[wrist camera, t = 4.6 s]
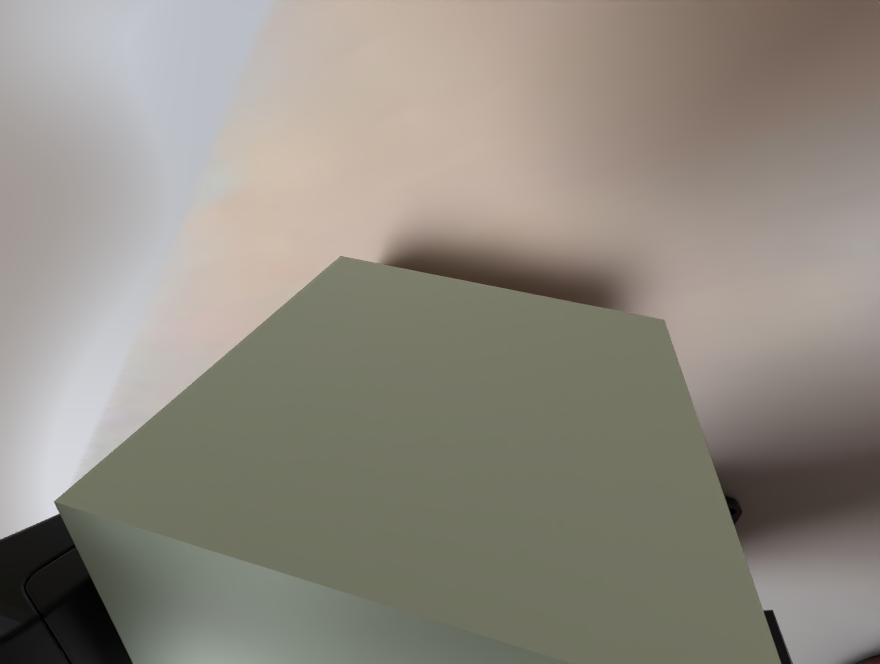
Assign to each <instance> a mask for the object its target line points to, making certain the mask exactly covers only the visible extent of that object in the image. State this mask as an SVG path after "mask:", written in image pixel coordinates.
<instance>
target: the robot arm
mask: <svg viewBox="0 0 880 664" xmlns="http://www.w3.org/2000/svg"><path fill="white" fill-rule="evenodd" d="M724 497H725V496H724ZM725 500H726V503H727V506H728V508H730V509H729V512H730V515H731V518H732V520H733V523H734V525H735V523H736V522H737V520H738V519H739V517H740V516H741V514H742V510H741V507H740V505H739V502H738V501H737V500H735V499H733V498H729V497H725ZM763 612H764V614H765V617H766V620H767V623H768V626H769V629H770V632H771V635H772V638H773V641H774V644H775V647H776V650H777V653H778V656H779V659H780V661H781V664H793V663H792V660H791V657H790V655H789V652H788V649H787V647H786V644H785V641H784V639H783V636H782V633H781V631H780V628H779V626H778V623H777V620H776V618H775V615H774V612H773V610H765V611H763ZM0 664H133V662H132V660H131V658H130V656H129V654H128V652H127V650H126V648H125V646H124V644H123V642H122V640H121V638H120V636H119V634H118V632H117V630H116V628H115V626H114V624H113V621H112V619H111V617H110V615H109V613H108V611H107V609H106V607H105V605H104V603H103V601H102V599H101V597H100V595H99V593H98V591H97V589H96V587H95V585H94V583H93V581H92V578H91V576H90V574H89V572H88V570H87V568H86V566H85V564H84V562H83V560H82V558H81V556H80V554H79V552H78V550H77V548H76V546H75V544H74V542H73V540H72V537H71V535H70V533H69V531H68V529H67V527H66V525H65V523H64V521H63V519H62V517H61V515H60V514H58V515H56V516H53V517H51V518H49V519H46V520H44V521H42V522H40V523H37V524H35V525H33V526H31V527H28V528H26V529H24V530H22V531H20V532H17V533H15V534H12V535H10V536H8V537H5V538H3V539H0Z"/></svg>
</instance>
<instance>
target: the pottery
mask: <svg viewBox="0 0 880 664" xmlns="http://www.w3.org/2000/svg"><path fill="white" fill-rule="evenodd" d="M857 664H880V656H877V657H873V658H869V659H867V660H864V661H862V662H859V663H857Z"/></svg>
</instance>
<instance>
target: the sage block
mask: <svg viewBox="0 0 880 664" xmlns="http://www.w3.org/2000/svg"><path fill="white" fill-rule="evenodd" d="M54 503H55V505H56V507H57V509H58V511H59V513H60V515H61V517H62V519H63V521H64V523H65V525H66V527H67V529H68V531H69V533H70V535H71V537H72V540H73V542H74V544H75V546H76V548H77V550H78V552H79V554H80V556H81V558H82V560H83V562H84V564H85V566H86V568H87V570H88V572H89V574H90V576H91V578H92V581H93V583H94V585H95V587H96V589H97V591H98V593H99V595H100V597H101V599H102V601H103V603H104V605H105V607H106V609H107V611H108V613H109V615H110V617H111V619H112V621H113V624H114V626H115V628H116V630H117V632H118V634H119V636H120V638H121V640H122V642H123V644H124V646H125V648H126V650H127V652H128V654H129V656H130V658H131V660H132V662H133V664H781V661H780V659H779V656H778V653H777V650H776V647H775V644H774V641H773V638H772V635H771V632H770V629H769V626H768V623H767V620H766V617H765V614H764V612H763V609H762V606H761V603H760V600H759V597H758V594H757V591H756V588H755V585H754V582H753V579H752V576H751V573H750V570H749V567H748V565H747V562H746V559H745V556H744V553H743V550H742V547H741V544H740V541H739V538H738V535H737V532H736V529H735V526H734V523H733V520H732V518H731V515H730V512H729V509H728V506H727V503H726V500H725V497H724V494H723V491H722V488H721V485H720V482H719V479H718V476H717V473H716V471H715V468H714V465H713V462H712V459H711V456H710V453H709V450H708V447H707V444H706V441H705V438H704V435H703V432H702V429H701V426H700V424H699V421H698V418H697V415H696V412H695V409H694V406H693V403H692V400H691V397H690V394H689V391H688V388H687V385H686V382H685V379H684V377H683V374H682V371H681V368H680V365H679V362H678V359H677V356H676V353H675V350H674V347H673V344H672V341H671V338H670V335H669V332H668V329H667V327H666V324H665V321H664V320H662V319H657V318H652V317H647V316H642V315H637V314H632V313H627V312H622V311H617V310H612V309H607V308H601V307H596V306H591V305H586V304H581V303H576V302H571V301H566V300H561V299H556V298H551V297H546V296H541V295H536V294H530V293H525V292H520V291H515V290H510V289H505V288H500V287H495V286H490V285H485V284H480V283H475V282H470V281H465V280H460V279H454V278H449V277H444V276H439V275H434V274H429V273H424V272H419V271H414V270H409V269H404V268H399V267H394V266H389V265H383V264H378V263H373V262H368V261H363V260H358V259H353V258H348V257H343V256H340V257H339V258H338V259H337V260H336V261H335V262H333V263H332V264H331V265H330V266H329V267H328V268H326V269H325V270H324V271H323V272H322V273H320V274H319V275H318V276H317V277H316V278H315V279H313V280H312V281H311V282H310V283H309V284H308V285H306V286H305V287H304V288H303V289H302V290H301V291H299V292H298V293H297V294H296V295H295V296H294V297H292V298H291V299H290V300H289V301H288V302H287V303H285V304H284V305H283V306H282V307H281V308H280V309H278V310H277V311H276V312H275V313H274V314H273V315H271V316H270V317H269V318H268V319H267V320H266V321H264V322H263V323H262V324H261V325H260V326H259V327H257V328H256V329H255V330H254V331H253V332H252V333H250V334H249V335H248V336H247V337H246V338H245V339H243V340H242V341H241V342H240V343H239V344H238V345H236V346H235V347H234V348H233V349H232V350H231V351H229V352H228V353H227V354H226V355H225V356H224V357H222V358H221V359H220V360H219V361H218V362H217V363H215V364H214V365H213V366H212V367H211V368H210V369H208V370H207V371H206V372H205V373H204V374H203V375H201V376H200V377H199V378H198V379H197V380H196V381H194V382H193V383H192V384H191V385H190V386H189V387H187V388H186V389H185V390H184V391H183V392H182V393H180V394H179V395H178V396H177V397H176V398H174V399H173V400H172V401H171V402H170V403H169V404H167V405H166V406H165V407H164V408H163V409H162V410H160V411H159V412H158V413H157V414H156V415H155V416H153V417H152V418H151V419H150V420H149V421H148V422H146V423H145V424H144V425H143V426H142V427H141V428H139V429H138V430H137V431H136V432H135V433H134V434H132V435H131V436H130V437H129V438H128V439H127V440H125V441H124V442H123V443H122V444H121V445H120V446H118V447H117V448H116V449H115V450H114V451H113V452H111V453H110V454H109V455H108V456H107V457H106V458H104V459H103V460H102V461H101V462H100V463H99V464H97V465H96V466H95V467H94V468H93V469H92V470H90V471H89V472H88V473H87V474H86V475H85V476H83V477H82V478H81V479H80V480H79V481H78V482H76V483H75V484H74V485H73V486H72V487H71V488H69V489H68V490H67V491H66V492H65V493H64V494H62V495H61V496H60V497H59V498H58V499H57V500H55V501H54Z"/></svg>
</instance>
